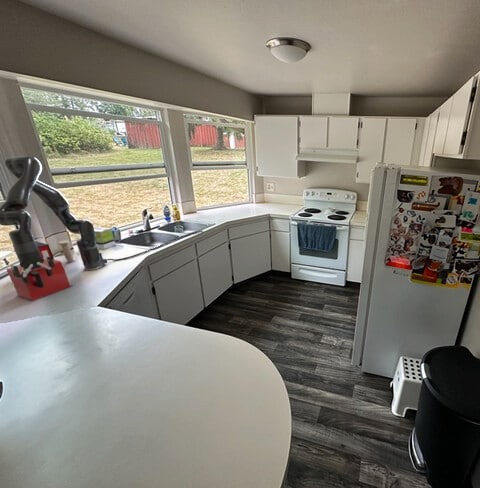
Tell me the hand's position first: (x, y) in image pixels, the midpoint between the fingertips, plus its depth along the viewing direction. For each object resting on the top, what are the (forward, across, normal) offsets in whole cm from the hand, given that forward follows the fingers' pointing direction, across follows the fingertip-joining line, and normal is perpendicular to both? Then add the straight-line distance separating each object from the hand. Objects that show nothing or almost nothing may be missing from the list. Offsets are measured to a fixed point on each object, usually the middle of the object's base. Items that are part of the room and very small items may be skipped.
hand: (39, 279), depth 128 cm
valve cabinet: (+12, +5, +12) cm, 18 cm away
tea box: (+12, +62, +59) cm, 86 cm away
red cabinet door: (+12, +5, +3) cm, 13 cm away
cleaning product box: (+12, +16, +38) cm, 43 cm away
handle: (+12, +34, +46) cm, 58 cm away
